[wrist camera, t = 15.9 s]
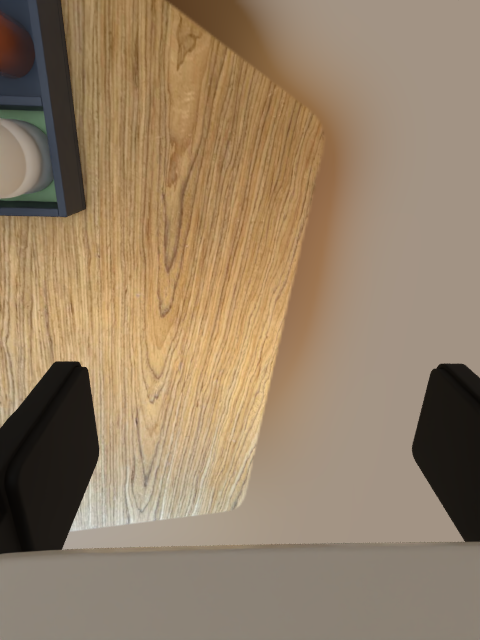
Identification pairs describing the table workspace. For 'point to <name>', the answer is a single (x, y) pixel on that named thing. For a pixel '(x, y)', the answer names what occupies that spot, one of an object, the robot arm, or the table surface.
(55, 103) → the divided storage box
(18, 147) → the water bottle
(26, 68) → the spice jar
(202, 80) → the table surface
